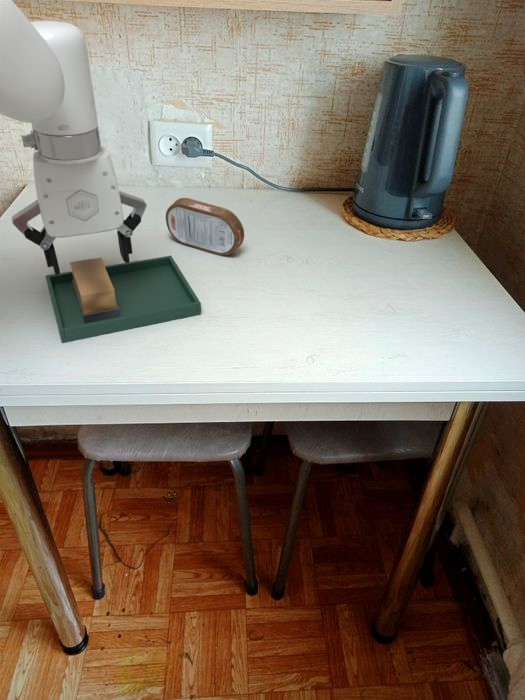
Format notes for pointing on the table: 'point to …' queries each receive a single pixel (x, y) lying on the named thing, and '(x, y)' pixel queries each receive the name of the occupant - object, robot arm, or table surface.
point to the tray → (127, 298)
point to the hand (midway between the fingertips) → (91, 263)
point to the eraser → (94, 290)
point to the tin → (204, 226)
